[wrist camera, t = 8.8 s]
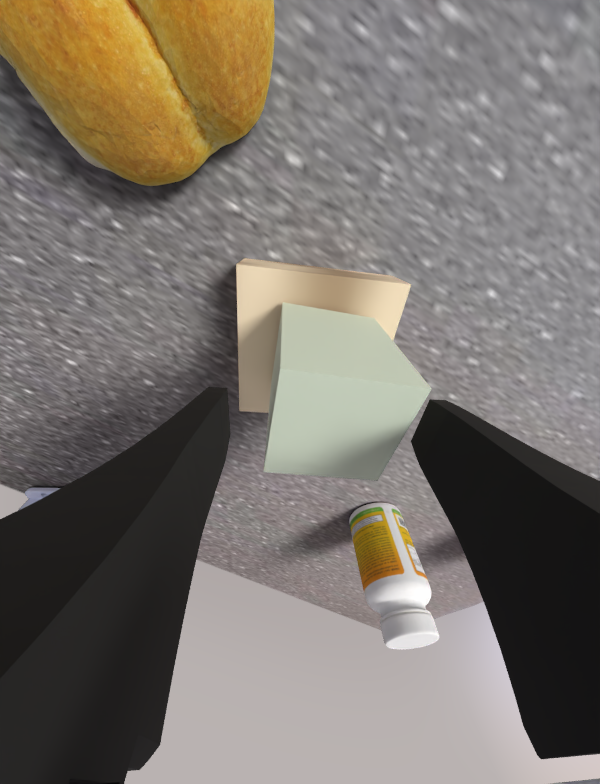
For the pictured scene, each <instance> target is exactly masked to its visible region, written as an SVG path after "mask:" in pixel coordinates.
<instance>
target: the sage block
mask: <svg viewBox="0 0 600 784" xmlns="http://www.w3.org/2000/svg"><path fill="white" fill-rule="evenodd" d="M430 391H431V388H430V386H429V385H428V384H427V383H426V381H425V380H424V379H423V378H422V376H421V375H420V374H419V373H418V372H417V370H416V369H415V368H414V367H413V365H412V364H411V363H410V362H409V360H408V359H407V358H406V357H405V355H404V354H403V353H402V352H401V350H400V349H399V348H398V347H397V346H396V344H395V343H394V342H393V341H392V339H391V338H390V337H389V336H388V334H387V333H386V332H385V331H384V329H383V328H382V327H381V326H380V324H379V323H378V322H377V321H376V320H375V318H371V317H365V316H360V315H354V314H348V313H342V312H336V311H331V310H325V309H319V308H313V307H308V306H302V305H296V304H290V303H285V302H283V303H282V310H281V317H280V324H279V331H278V338H277V345H276V352H275V359H274V366H273V373H272V380H271V391H270V402H269V414H268V426H267V438H266V450H265V461H264V472H269V473H283V474H296V475H309V476H322V477H335V478H348V479H361V480H374V481H378V479H379V477H380V476H381V474H382V472H383V471H384V469H385V467H386V465H387V464H388V462H389V460H390V459H391V457H392V455H393V454H394V452H395V450H396V448H397V447H398V445H399V443H400V442H401V440H402V438H403V437H404V435H405V433H406V431H407V430H408V428H409V426H410V425H411V423H412V421H413V420H414V418H415V416H416V415H417V413H418V411H419V409H420V408H421V406H422V404H423V403H424V401H425V399H426V398H427V396H428V394H429V392H430Z"/></svg>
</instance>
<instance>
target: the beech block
mask: <svg viewBox="0 0 600 784" xmlns="http://www.w3.org/2000/svg"><path fill="white" fill-rule="evenodd" d="M236 273H237V321H238V368H239V411H246V412H262V413H269V402H270V391H271V380H272V373H273V366H274V359H275V352H276V345H277V338H278V331H279V324H280V317H281V310H282V303H283V302H285V303H290V304H296V305H302V306H308V307H313V308H319V309H325V310H331V311H336V312H342V313H348V314H354V315H360V316H365V317H371V318H375V320H376V321H377V322H378V323H379V324H380V326H381V327H382V328H383V329H384V331H385V332H386V333H387V334H388V336H389V337H390V338H391V339H392V341H393V339H394V336H395V333H396V330H397V327H398V324H399V321H400V318H401V315H402V312H403V308H404V305H405V302H406V299H407V296H408V293H409V290H410V287H411V284H409V283H407V282H404V281H402V280H400V279H398V278H396V277H393V276H389V275H381V274H372V273H364V272H356V271H347V270H339V269H330V268H322V267H314V266H305V265H297V264H288V263H280V262H271V261H263V260H255V259H246V258H244V259H243V260H241V261H240V262H239V263H237V264H236Z"/></svg>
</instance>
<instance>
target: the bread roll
mask: <svg viewBox="0 0 600 784" xmlns="http://www.w3.org/2000/svg"><path fill="white" fill-rule="evenodd" d="M273 50H274V0H0V54H1V55H2V56H3V57H4V58H5V59H6V60H7V61H8V62H9V63H10V64H11V66H12V67H13V68H14V69H15V70H16V72H17V75H18V77H19V78H20V80H21V81H22V82H23V83H24V85H25V86H26V87H27V89H28V90H29V91H30V93H31V94H32V95H33V97H34V98H35V99H36V101H37V102H38V103H39V104H40V106H41V107H42V108H43V109H44V111H45V112H46V114H47V115H48V116H49V118H50V119H51V121H52V122H53V124H54V125H55V126H56V127H57V129H58V130H59V131H60V132H61V134H62V135H63V136H64V137H65V138H66V139H67V140H68V141H69V143H70V144H71V145H72V146H73V147H74V148H75V149H76V150H77V152H78V153H79V154H80V155H81V156H82V157H83V158H84V159H85V160H87V161H88V162H89V163H90V164H92V165H94V166H96V167H98V168H102V169H106V170H109V171H112V172H114V173H115V174H117V175H119V176H121V177H122V178H125V179H127V180H130V181H132V182H135V183H138V184H141V185H146V186H158V185H164V184H169V183H174V182H178V181H181V180H183V179H185V178H187V177H189V176H191V175H192V174H193V173H194V172H195V171H196V170H197V169H198V168H199V167H200V166H201V165H202V164H203V163H204V162H205V161H206V160H207V159H208V157H209V156H210V155H212V154H213V153H214V152H216V151H217V150H218V149H220V148H221V147H222V146H225V145H227V144H231V143H233V142H235V141H237V140H238V139H240V138H241V137H243V136H245V135H246V134H247V133H248V132H249V131H250V130H251V129H252V127H253V126H254V125H255V124H256V122H257V121H258V120H259V118H260V115H261V113H262V111H263V108H264V104H265V101H266V96H267V92H268V87H269V82H270V77H271V70H272V61H273Z"/></svg>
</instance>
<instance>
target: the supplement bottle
mask: <svg viewBox="0 0 600 784" xmlns="http://www.w3.org/2000/svg"><path fill="white" fill-rule="evenodd" d="M349 524H350V530H351V534H352V539H353V543H354V548H355V552H356V557H357V561H358V566H359V571H360V575H361V580H362V585H363V589H364V594H365V598H366V601H367V603H368V605H369V606H370V607H371V608H372V609H373V610H374V611H376V612H378V613H380V614H381V617H382V618H381V619H380V624H381V625H380V627H381V631H382V634H383V639H384V643H385V645H386V646H387V647H388V648H391V649H412V648H419V647H423V646H427V645H430V644H432V643H434V642H436V641H437V640H438V639H439V634H438V631H437V628H436V625H435V622H434V619H433V617H432V616H431V613H430V612H429V611H427V610H426V608H425V605H427V604H428V602H429V601H430V598H431V589H430V585H429V583H428V580H427V577H426V575H425V572H424V570H423V567H422V565H421V563H420V560H419V558H418V555H417V553H416V550H415V548H414V545H413V543H412V540H411V538H410V535H409V533H408V530H407V528H406V525H405V523H404V520H403V518H402V515H401V513H400V511H399V510H398V508H397V507H395V506H394V505H392V504H389V503H383V502H378V503H371V504H367V505H364V506H361V507H359V508H358V509H356V510H355V511H354V512H353V513H352V515H351V516H350V519H349Z"/></svg>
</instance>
